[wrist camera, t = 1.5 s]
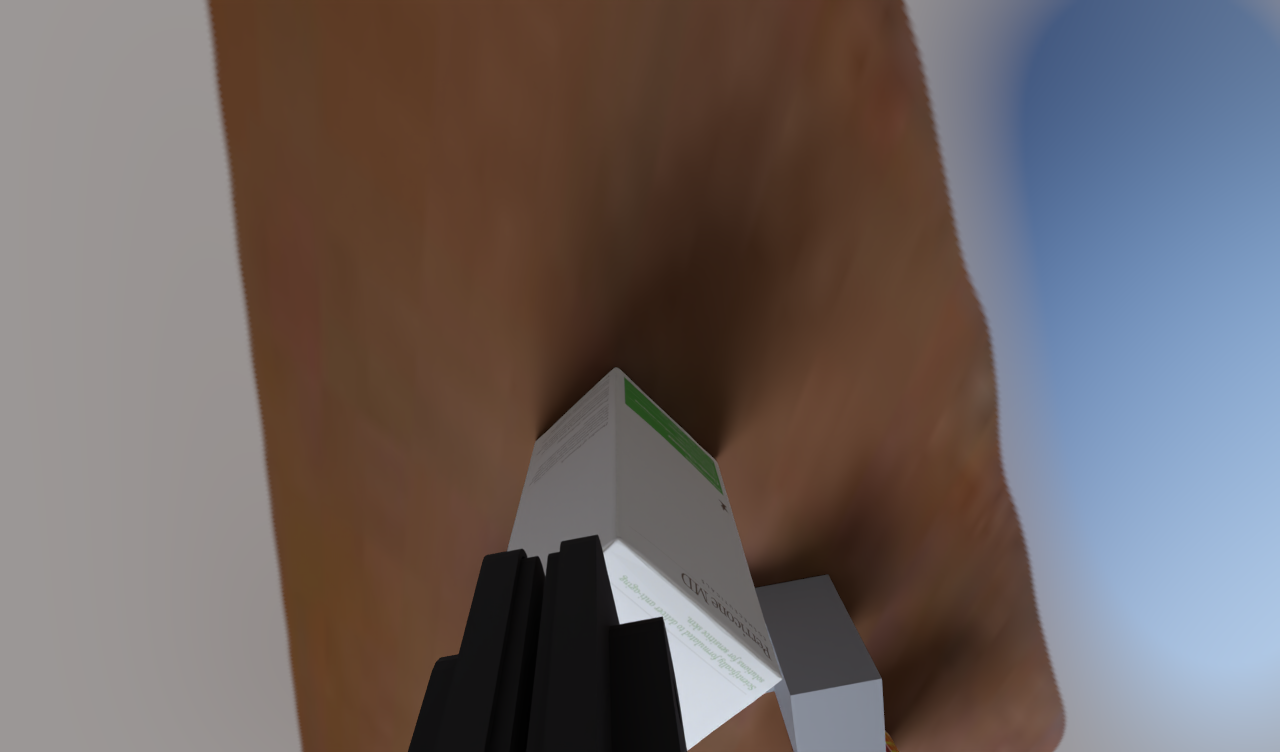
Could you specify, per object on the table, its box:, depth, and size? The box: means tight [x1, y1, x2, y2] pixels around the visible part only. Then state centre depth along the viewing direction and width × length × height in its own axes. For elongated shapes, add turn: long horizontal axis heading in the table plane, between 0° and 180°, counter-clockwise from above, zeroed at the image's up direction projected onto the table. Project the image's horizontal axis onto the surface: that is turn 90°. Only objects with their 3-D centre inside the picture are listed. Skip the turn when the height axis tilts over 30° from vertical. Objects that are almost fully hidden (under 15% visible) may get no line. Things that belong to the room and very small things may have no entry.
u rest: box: [755, 574, 886, 752], centre depth 37 cm, size 5×21×8 cm, turn 100°
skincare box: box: [507, 367, 782, 750], centre depth 29 cm, size 8×7×16 cm
